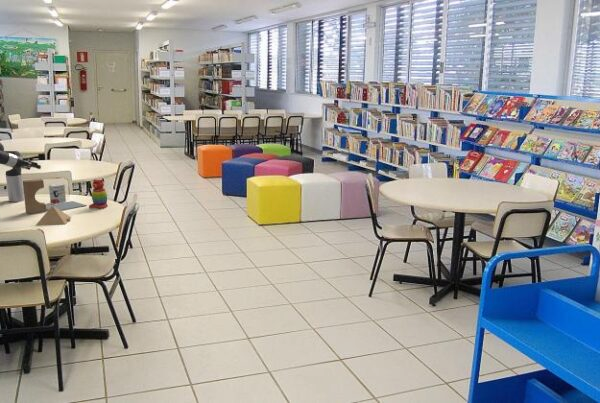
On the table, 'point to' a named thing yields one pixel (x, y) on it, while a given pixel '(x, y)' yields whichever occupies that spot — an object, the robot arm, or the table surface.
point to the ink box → (57, 193)
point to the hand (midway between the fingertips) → (35, 167)
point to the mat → (66, 205)
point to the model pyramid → (54, 217)
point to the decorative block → (33, 196)
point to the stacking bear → (98, 195)
